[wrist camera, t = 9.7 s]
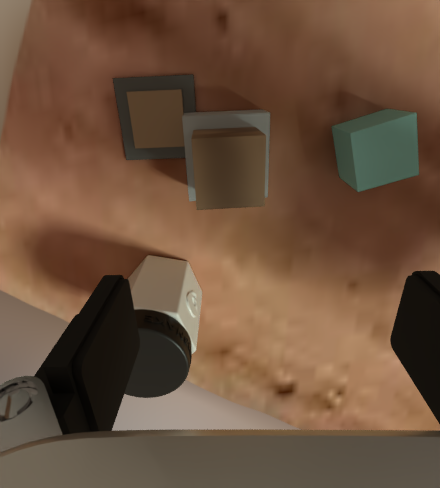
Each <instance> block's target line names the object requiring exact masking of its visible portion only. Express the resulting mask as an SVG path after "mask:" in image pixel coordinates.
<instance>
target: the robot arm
mask: <svg viewBox="0 0 440 488" xmlns="http://www.w3.org/2000/svg"><path fill="white" fill-rule="evenodd" d="M390 340H391V346H392V348H393V350H394V352H395V353H396V355H397V357H398V358H399V360H400V361H401V363H402V365H403V366H404V368H405V369H406V371H407V373H408V374H409V376H410V377H411V379H412V381H413V382H414V384H415V385H416V387H417V389H418V390H419V392H420V393H421V395H422V397H423V398H424V400H425V401H426V403H427V404H428V406H429V408H430V409H431V411H432V412H433V414H434V416H435V417H436V419H437V420H438V422H439V424H440V275H439V274H438V273H437V272H435V271H415V272H413V273H412V275H411V276H408V277H407V279H406V282H405V286H404V289H403V293H402V297H401V301H400V304H399V308H398V312H397V316H396V319H395V323H394V327H393V331H392V334H391V339H390ZM139 348H140V337H139V332H138V326H137V321H136V316H135V310H134V305H133V299H132V294H131V289H130V283H129V280H128V279H124V278H123V276H122V275H105V276H104V277H103V278H102V279H101V281H100V282H99V284H98V286H97V287H96V289H95V290H94V292H93V293H92V295H91V296H90V298H89V299H88V301H87V302H86V304H85V305H84V307H83V308H82V310H81V311H80V313H79V314H77V315H76V316H75V317H74V318H73V319H72V321H71V322H70V324H69V325H68V327H67V328H66V330H65V331H64V333H63V334H62V336H61V337H60V339H59V340H58V342H57V344H56V345H55V346H54V348H53V349H52V351H51V352H50V353H49V355H48V356H47V358H46V360H45V361H44V362H43V364H42V365H41V367H40V368H39V370H38V371H37V373H36V374H35V376H23V377H17V378H14V379H12V380H9V381H6V382H5V383H3V384H1V385H0V488H440V431H417V430H127V431H112V428H113V425H114V422H115V419H116V416H117V413H118V410H119V407H120V404H121V401H122V398H123V395H124V393H125V390H126V387H127V384H128V381H129V378H130V375H131V372H132V369H133V366H134V363H135V360H136V357H137V355H138V352H139Z"/></svg>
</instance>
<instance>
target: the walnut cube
mask: <svg viewBox="0 0 440 488" xmlns="http://www.w3.org/2000/svg"><path fill="white" fill-rule="evenodd" d="M191 142H192V155H193V168H194V181H195V194H196V207H197V210H204V209H223V208H242V207H261V206H265V167H266V135H265V134H264V133H263V132H261V131H260V130H259V129H258V128H256V127H241V128H220V129H199V130H193V134H192V138H191Z"/></svg>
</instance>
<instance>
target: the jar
mask: <svg viewBox="0 0 440 488" xmlns="http://www.w3.org/2000/svg"><path fill="white" fill-rule="evenodd" d="M128 280H129V283H130V289H131V294H132V299H133V305H134V310H135V316H136V321H137V326H138V332H139V337H140V348H139V352H138V355H137V357H136V360H135V363H134V366H133V369H132V372H131V375H130V378H129V381H128V384H127V387H126V390H125V393H124V394H127V395H130V396H135V397H143V398H150V397H158V396H163V395H166V394H168V393H170V392H172V391H174V390H176V389H177V388H178V387H180V386H181V385H182V383H183V382H184V381H185V379H186V377H187V375H188V372H189V368H190V364H191V357H192V356H191V355H192V353H193V352H195V351H196V347H197V338H198V328H199V319H200V309H201V300H202V291H201V288H200V286H199V284H198V282H197V280H196V278H195V275H194V273H193V271H192V269H191V267H190V265H189V263H188V262H187V261H183V260H176V259H170V258H164V257H158V256H152V255H148V256H147V257H146V258H145V259H144V260H143V261H142V262H141V264H140V265H139V266H138V267H137V268H136V270H135V271H134V272H133V273H132V274H131V275H130V277H129V278H128Z"/></svg>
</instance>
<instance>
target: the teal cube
mask: <svg viewBox="0 0 440 488" xmlns="http://www.w3.org/2000/svg"><path fill="white" fill-rule="evenodd" d="M331 127H332V133H333V140H334V146H335V153H336V159H337V166H338V172H339V178H341V179H342V180H343V181H345V182H346V183H347V184H348V185H350V186H351V187H352V188H353V189H355V190H356V191H357V192H360V191H364V190H367V189H371V188H374V187H378V186H381V185H385V184H388V183H392V182H395V181H399V180H402V179H406V178H409V177H413V176H417V175H419V160H418V135H417V113H415V112H407V111H400V110H393V109H384V110H381V111H378V112H375V113H372V114H369V115H366V116H362V117H359V118H356V119H353V120H350V121H347V122H343V123H340V124H337V125H334V126H331Z"/></svg>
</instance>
